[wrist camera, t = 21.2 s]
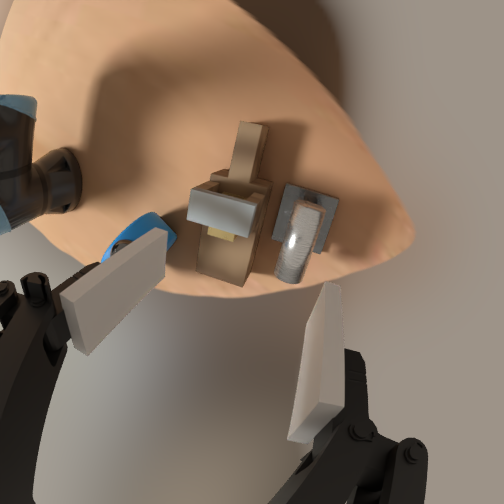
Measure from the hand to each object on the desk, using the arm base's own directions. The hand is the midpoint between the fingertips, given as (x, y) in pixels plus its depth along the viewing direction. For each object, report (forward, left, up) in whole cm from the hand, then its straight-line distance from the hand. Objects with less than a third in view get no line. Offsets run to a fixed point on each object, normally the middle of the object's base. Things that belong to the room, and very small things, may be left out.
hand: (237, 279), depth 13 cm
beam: (-7, -4, -29) cm, 30 cm away
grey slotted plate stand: (+3, -5, -29) cm, 30 cm away
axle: (+3, -6, -24) cm, 24 cm away
